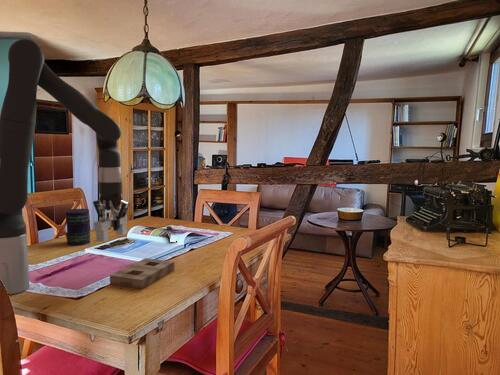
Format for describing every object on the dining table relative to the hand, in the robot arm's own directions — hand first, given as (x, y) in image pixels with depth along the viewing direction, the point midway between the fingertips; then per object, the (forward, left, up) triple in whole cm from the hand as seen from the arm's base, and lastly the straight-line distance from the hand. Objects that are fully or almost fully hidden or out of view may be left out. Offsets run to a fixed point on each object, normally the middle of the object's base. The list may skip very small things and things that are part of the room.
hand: (112, 229), depth 135 cm
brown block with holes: (0, -13, -15) cm, 20 cm away
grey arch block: (0, 0, -3) cm, 3 cm away
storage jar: (+28, +40, -15) cm, 51 cm away
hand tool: (+50, +7, -16) cm, 53 cm away
